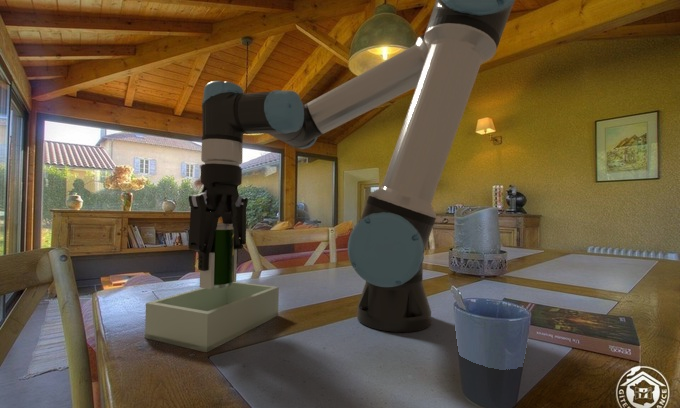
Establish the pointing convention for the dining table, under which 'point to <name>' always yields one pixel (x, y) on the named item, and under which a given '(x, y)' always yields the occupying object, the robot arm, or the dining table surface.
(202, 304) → the box
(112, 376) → the dining table surface
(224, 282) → the beer can
